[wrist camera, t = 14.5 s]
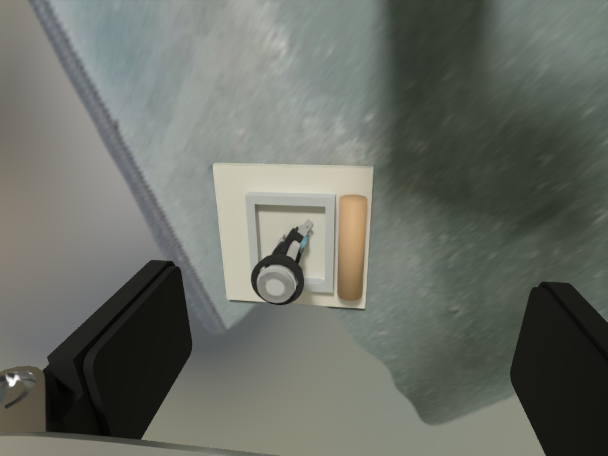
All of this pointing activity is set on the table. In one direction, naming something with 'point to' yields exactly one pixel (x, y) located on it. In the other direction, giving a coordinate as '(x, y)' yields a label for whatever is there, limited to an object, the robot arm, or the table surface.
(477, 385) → the table surface
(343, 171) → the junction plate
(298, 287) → the push button
